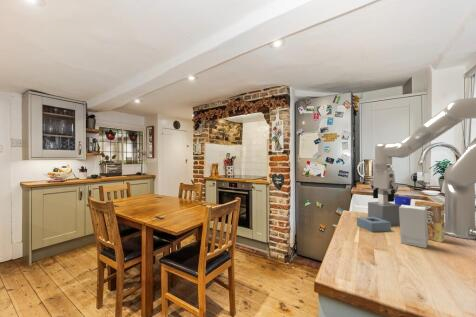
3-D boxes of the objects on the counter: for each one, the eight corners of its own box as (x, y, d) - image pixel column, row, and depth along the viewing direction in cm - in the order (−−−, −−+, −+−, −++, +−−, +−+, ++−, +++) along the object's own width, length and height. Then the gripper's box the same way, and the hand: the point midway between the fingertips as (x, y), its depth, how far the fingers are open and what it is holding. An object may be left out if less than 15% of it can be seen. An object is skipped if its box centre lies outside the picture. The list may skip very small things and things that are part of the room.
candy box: (444, 240, 91) (444, 203, 91) (441, 242, 88) (441, 204, 88) (418, 234, 98) (418, 200, 98) (414, 236, 96) (414, 201, 96)
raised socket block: (400, 225, 111) (400, 205, 111) (382, 226, 110) (382, 206, 110) (384, 219, 121) (384, 201, 121) (368, 220, 120) (367, 202, 120)
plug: (389, 210, 114) (389, 190, 114) (383, 210, 114) (383, 190, 114) (383, 208, 118) (383, 189, 118) (378, 208, 117) (378, 190, 117)
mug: (396, 216, 129) (396, 198, 129) (393, 211, 140) (393, 195, 140) (414, 217, 125) (414, 200, 125) (409, 212, 136) (409, 196, 136)
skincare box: (428, 244, 86) (428, 206, 86) (426, 249, 82) (426, 209, 82) (402, 239, 92) (401, 203, 92) (398, 242, 88) (398, 206, 88)
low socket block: (390, 230, 103) (390, 222, 103) (371, 231, 101) (371, 223, 101) (374, 224, 113) (374, 216, 113) (356, 225, 111) (356, 217, 111)
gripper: (404, 168, 108) (404, 203, 108) (377, 166, 125) (376, 196, 125) (390, 168, 107) (390, 203, 107) (365, 166, 124) (364, 197, 124)
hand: (383, 199), depth 116 cm, fingers open, 9 cm apart
